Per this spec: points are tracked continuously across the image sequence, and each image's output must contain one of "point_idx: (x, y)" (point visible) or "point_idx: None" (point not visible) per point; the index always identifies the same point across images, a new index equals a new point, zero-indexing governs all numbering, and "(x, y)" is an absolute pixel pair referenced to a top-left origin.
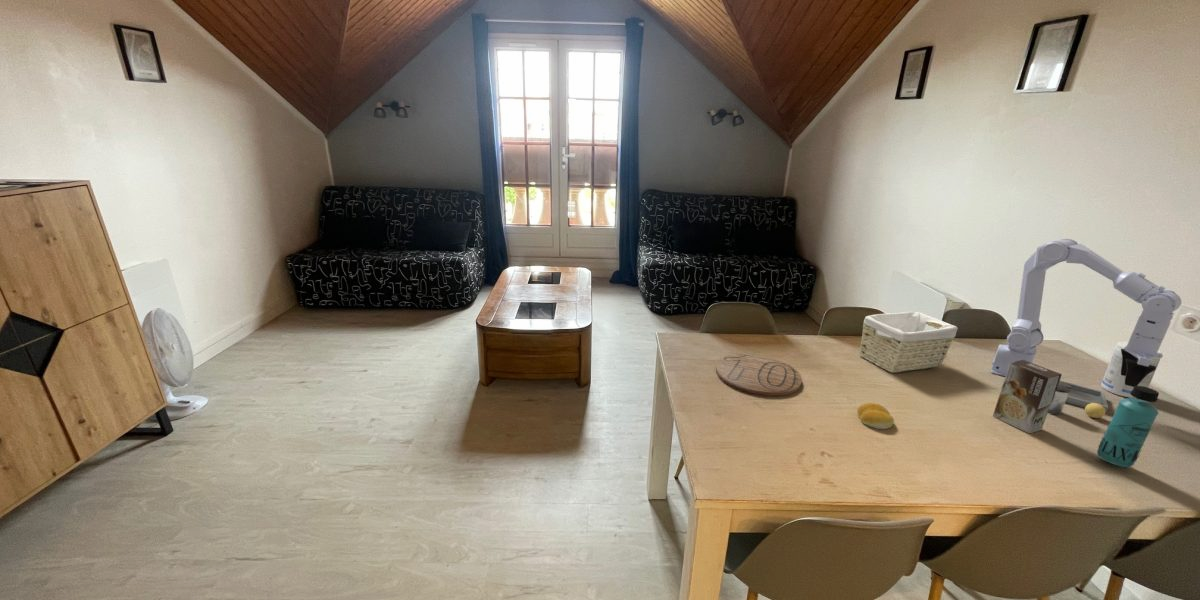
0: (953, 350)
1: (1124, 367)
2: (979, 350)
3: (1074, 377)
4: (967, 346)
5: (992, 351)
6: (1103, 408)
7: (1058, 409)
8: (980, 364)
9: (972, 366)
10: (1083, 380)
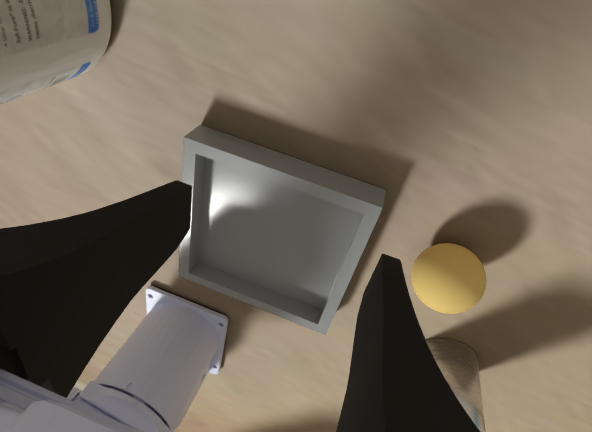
0: None
1: (151, 265)
2: None
3: (45, 139)
4: None
5: None
6: (471, 285)
7: (479, 379)
8: None
9: (202, 387)
10: (48, 116)
